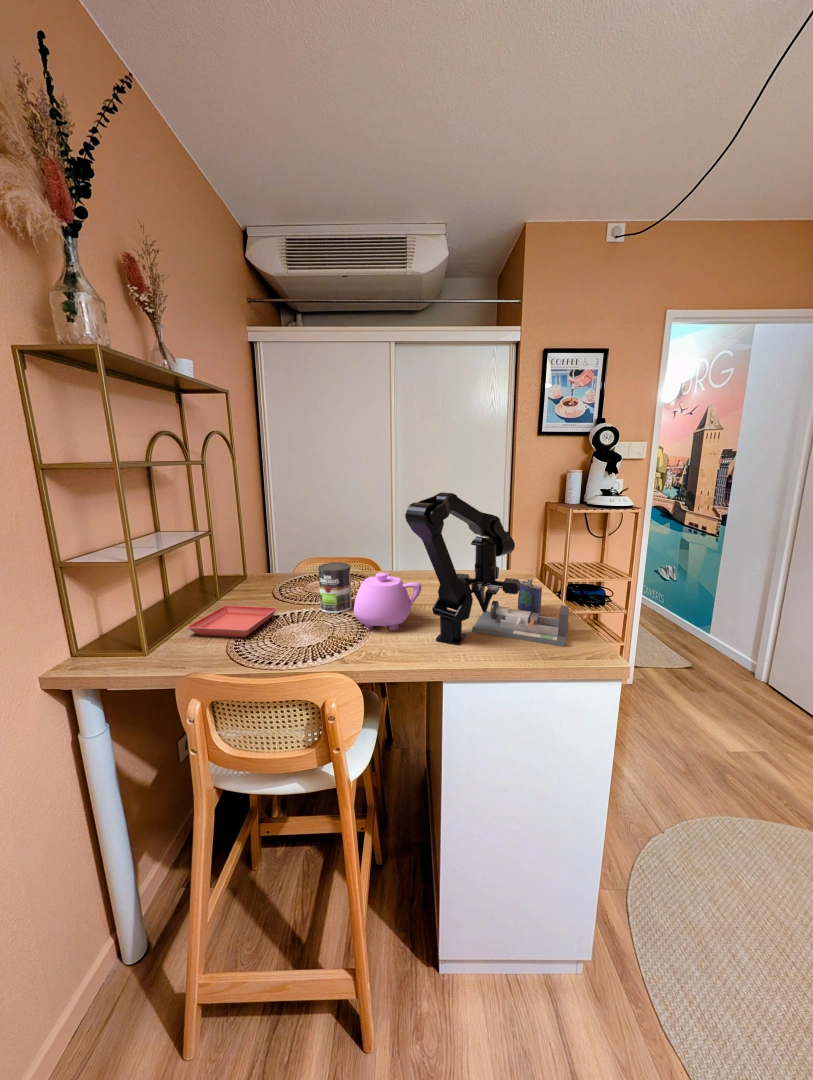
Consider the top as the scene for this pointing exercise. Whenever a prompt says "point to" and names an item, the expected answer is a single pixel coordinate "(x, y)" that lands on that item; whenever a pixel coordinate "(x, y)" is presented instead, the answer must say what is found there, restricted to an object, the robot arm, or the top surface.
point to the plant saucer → (232, 621)
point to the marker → (534, 619)
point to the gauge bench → (527, 628)
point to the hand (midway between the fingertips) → (484, 611)
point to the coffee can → (335, 587)
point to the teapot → (384, 601)
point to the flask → (529, 597)
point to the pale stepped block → (509, 613)
